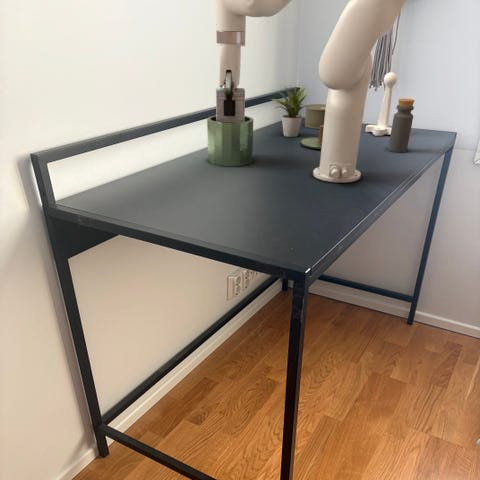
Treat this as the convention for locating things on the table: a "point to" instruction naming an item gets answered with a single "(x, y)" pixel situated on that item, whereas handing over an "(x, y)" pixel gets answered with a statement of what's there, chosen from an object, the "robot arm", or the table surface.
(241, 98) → the medicine box
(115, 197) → the table surface
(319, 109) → the can
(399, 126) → the bottle
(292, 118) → the house plant
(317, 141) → the lid
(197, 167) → the table surface
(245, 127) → the pot
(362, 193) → the table surface
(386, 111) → the joystick
